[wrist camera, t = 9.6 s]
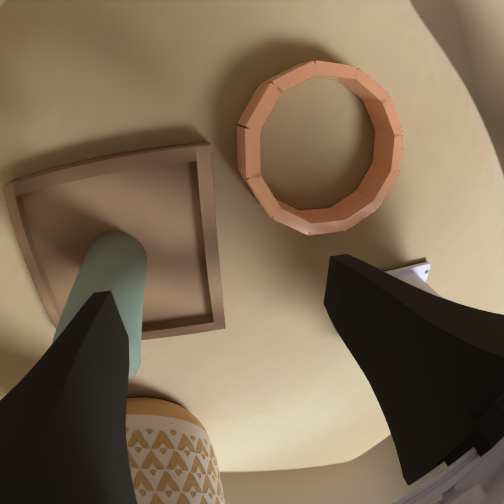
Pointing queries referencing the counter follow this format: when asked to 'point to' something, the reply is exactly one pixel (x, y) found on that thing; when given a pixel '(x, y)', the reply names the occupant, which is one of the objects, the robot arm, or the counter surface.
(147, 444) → the vase
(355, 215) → the faceted terracotta ring
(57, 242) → the walnut tray
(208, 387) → the counter surface
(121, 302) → the gray-green peg
